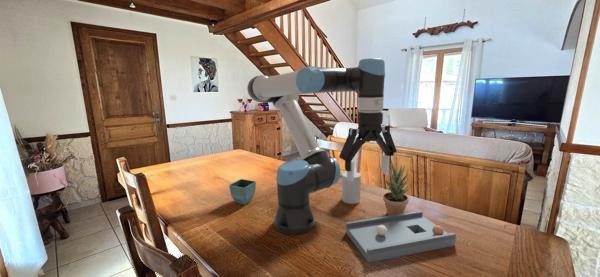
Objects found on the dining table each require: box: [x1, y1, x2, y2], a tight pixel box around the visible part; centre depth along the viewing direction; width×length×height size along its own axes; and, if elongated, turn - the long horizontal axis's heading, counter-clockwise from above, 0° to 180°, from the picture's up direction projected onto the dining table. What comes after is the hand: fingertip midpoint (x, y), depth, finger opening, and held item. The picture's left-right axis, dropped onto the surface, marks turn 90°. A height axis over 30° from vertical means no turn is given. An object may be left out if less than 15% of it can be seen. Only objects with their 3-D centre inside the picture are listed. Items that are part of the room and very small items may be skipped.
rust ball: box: [432, 224, 445, 236], centre depth 82 cm, size 3×3×3 cm
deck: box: [345, 210, 457, 263], centre depth 84 cm, size 30×16×4 cm, turn 103°
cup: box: [341, 171, 362, 205], centre depth 114 cm, size 8×8×12 cm
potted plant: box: [382, 154, 410, 216], centre depth 99 cm, size 10×10×25 cm
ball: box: [377, 225, 387, 236], centre depth 83 cm, size 3×3×3 cm
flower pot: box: [228, 178, 257, 205], centre depth 115 cm, size 9×9×9 cm
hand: (368, 177), depth 82 cm, fingers open, 13 cm apart
